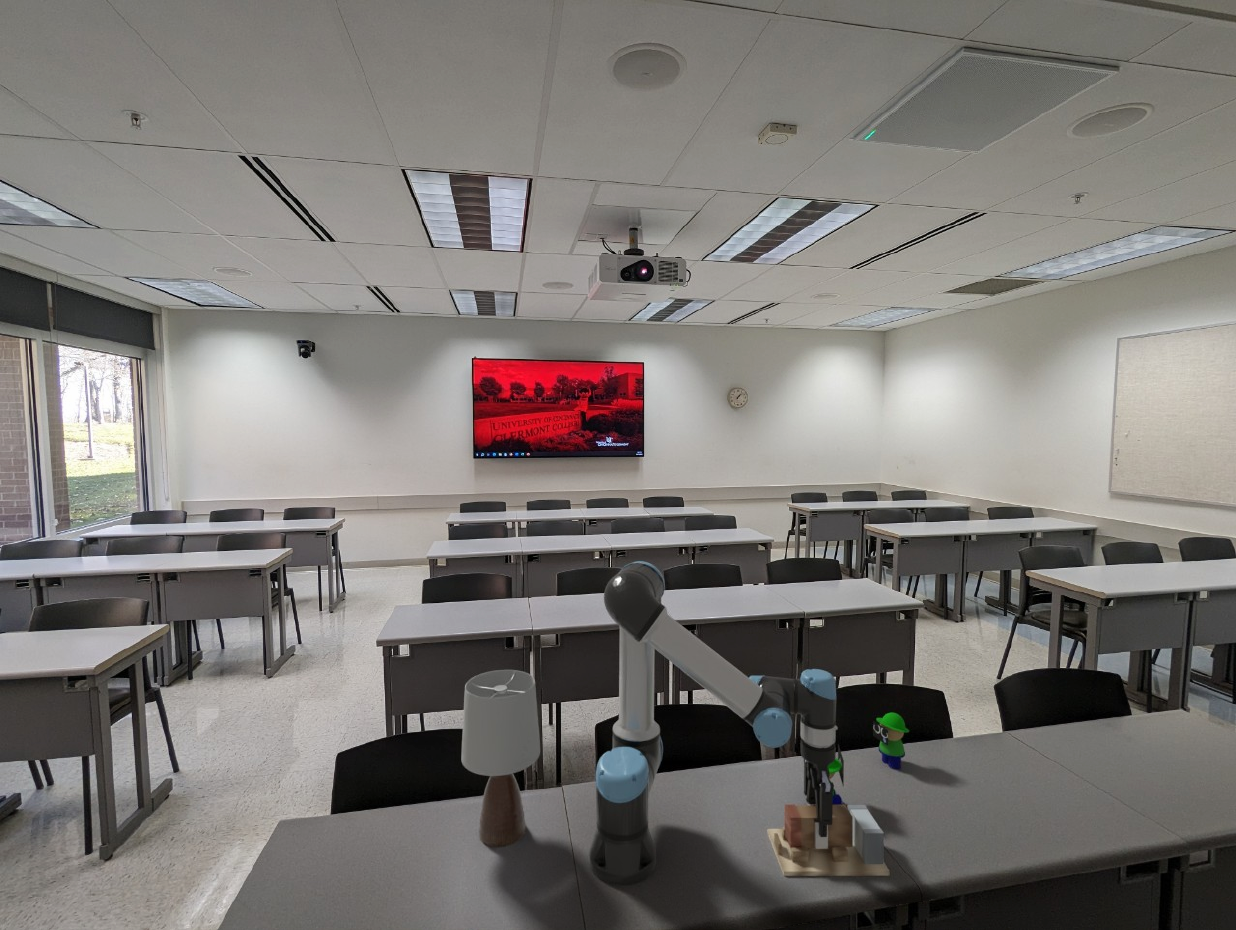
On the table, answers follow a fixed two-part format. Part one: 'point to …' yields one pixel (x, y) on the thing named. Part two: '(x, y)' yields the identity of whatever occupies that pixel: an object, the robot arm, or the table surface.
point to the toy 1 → (839, 766)
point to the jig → (821, 859)
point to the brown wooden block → (803, 826)
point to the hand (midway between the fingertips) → (817, 839)
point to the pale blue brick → (867, 835)
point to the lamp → (500, 747)
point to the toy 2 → (890, 738)
